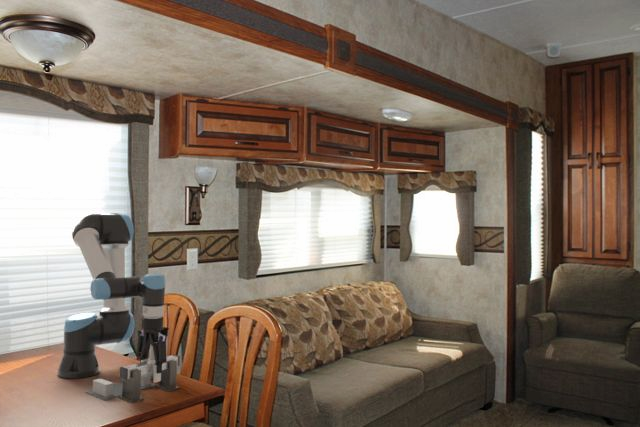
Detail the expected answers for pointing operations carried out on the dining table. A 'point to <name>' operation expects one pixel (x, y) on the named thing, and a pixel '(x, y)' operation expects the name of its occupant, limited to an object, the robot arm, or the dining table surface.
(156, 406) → the dining table surface
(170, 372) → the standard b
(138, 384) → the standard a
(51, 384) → the dining table surface
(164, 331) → the travel mug
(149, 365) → the rail
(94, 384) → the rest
